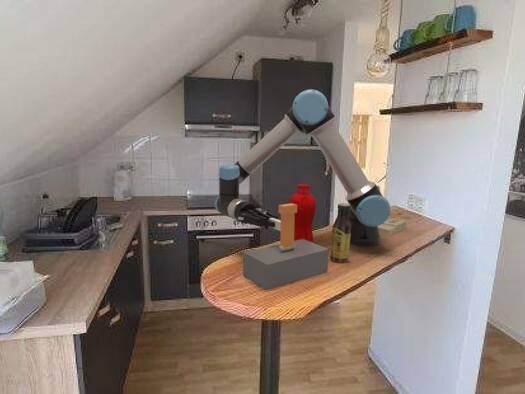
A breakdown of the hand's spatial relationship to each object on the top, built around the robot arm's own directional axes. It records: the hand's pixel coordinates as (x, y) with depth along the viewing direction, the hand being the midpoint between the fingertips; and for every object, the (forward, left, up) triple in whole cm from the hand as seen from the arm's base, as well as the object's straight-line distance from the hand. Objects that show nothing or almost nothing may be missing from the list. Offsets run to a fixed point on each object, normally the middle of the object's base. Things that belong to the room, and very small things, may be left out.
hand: (283, 227), depth 106 cm
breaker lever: (-1, +1, -6) cm, 6 cm away
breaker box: (-1, +1, -15) cm, 15 cm away
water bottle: (-18, -12, -15) cm, 26 cm away
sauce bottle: (-24, +2, -15) cm, 28 cm away
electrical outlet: (-72, -11, -15) cm, 74 cm away
